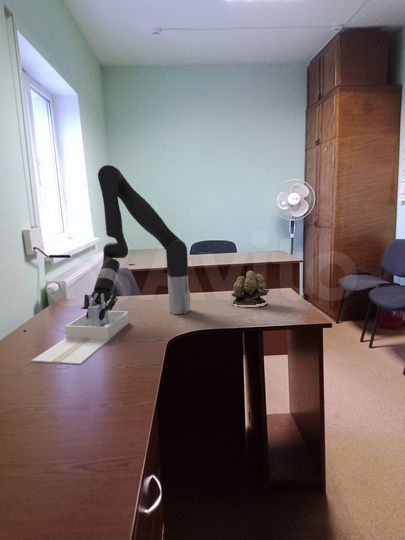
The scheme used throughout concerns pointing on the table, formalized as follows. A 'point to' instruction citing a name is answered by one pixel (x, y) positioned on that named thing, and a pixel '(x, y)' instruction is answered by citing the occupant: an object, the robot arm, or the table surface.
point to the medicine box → (97, 316)
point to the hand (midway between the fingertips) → (94, 318)
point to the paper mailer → (84, 339)
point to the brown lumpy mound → (249, 289)
